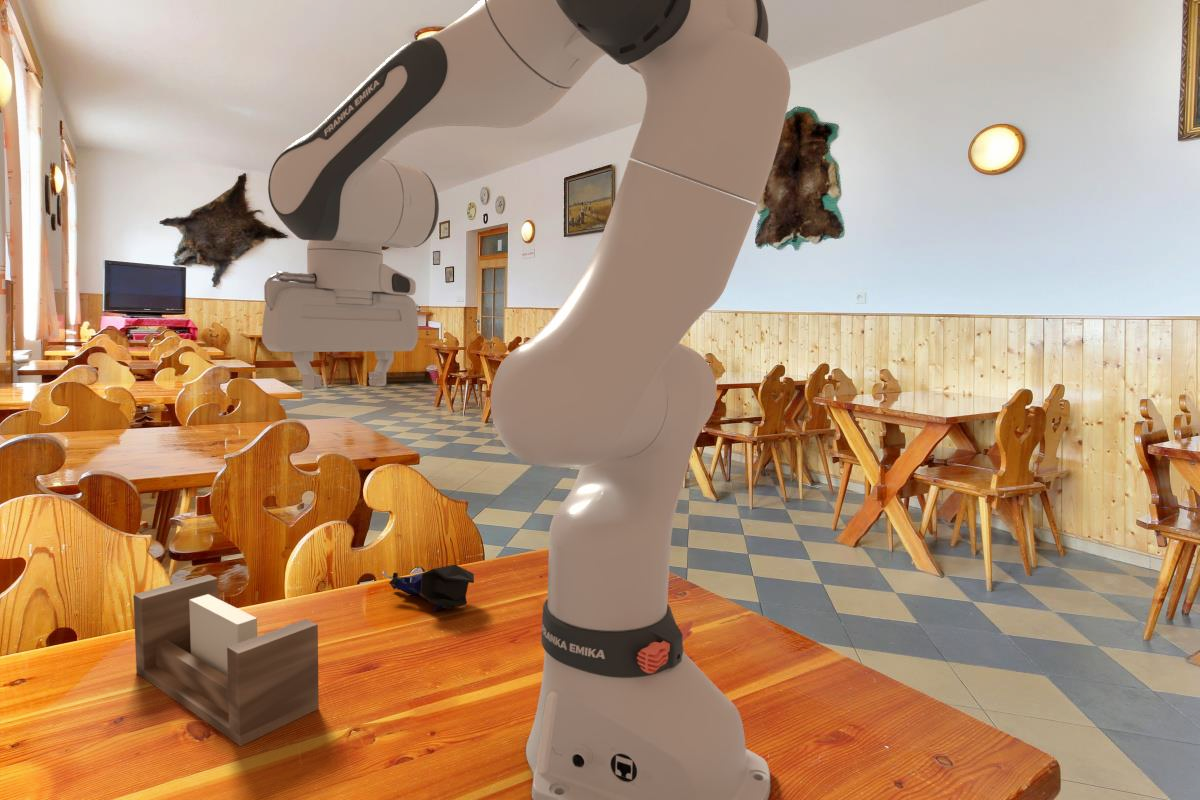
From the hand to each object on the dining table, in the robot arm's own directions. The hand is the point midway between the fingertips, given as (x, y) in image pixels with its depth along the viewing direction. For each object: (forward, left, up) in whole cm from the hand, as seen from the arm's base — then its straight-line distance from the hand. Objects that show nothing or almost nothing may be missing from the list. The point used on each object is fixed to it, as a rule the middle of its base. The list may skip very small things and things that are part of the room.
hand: (346, 387), depth 87 cm
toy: (-2, -12, -32) cm, 34 cm away
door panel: (-4, +18, -30) cm, 35 cm away
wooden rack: (-4, +18, -31) cm, 36 cm away
